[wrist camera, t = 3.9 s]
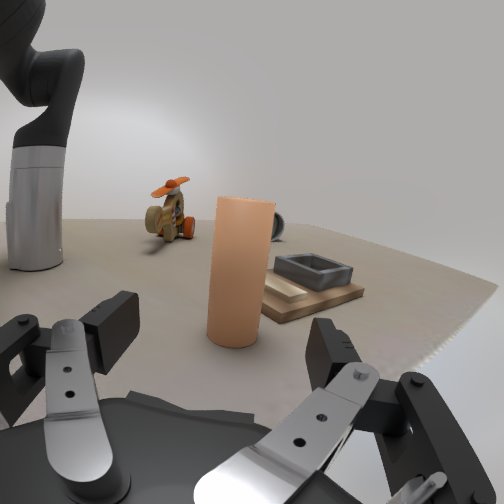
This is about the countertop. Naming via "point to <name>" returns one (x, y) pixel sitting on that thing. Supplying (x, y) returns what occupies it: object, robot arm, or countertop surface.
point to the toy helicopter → (170, 213)
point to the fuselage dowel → (238, 270)
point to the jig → (306, 286)
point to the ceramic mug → (277, 226)
